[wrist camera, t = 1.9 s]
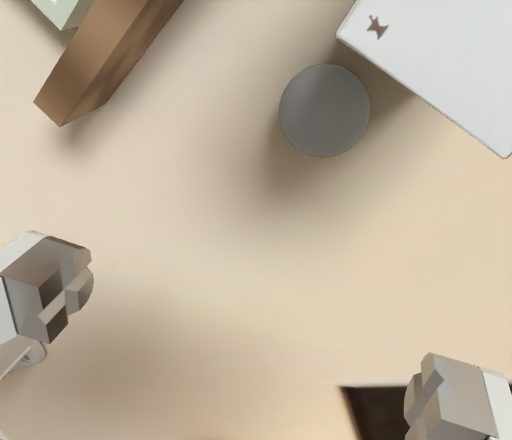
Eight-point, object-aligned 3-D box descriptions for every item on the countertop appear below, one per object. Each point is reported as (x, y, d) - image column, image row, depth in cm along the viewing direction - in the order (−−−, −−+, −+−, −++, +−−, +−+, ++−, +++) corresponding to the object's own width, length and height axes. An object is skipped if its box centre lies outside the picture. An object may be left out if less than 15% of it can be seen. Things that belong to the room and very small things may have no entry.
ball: (323, 153, 27) (313, 188, 23) (272, 95, 26) (250, 120, 22) (389, 103, 24) (390, 132, 20) (334, 36, 23) (324, 52, 19)
